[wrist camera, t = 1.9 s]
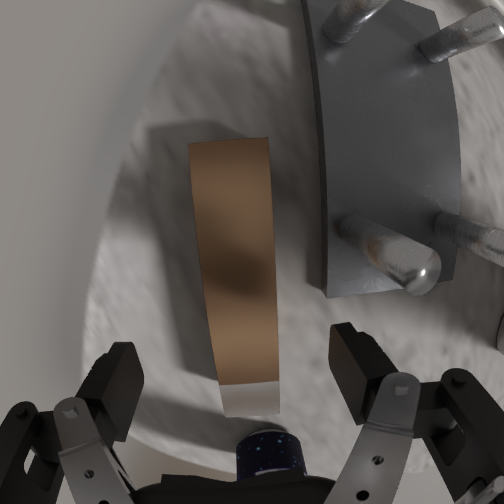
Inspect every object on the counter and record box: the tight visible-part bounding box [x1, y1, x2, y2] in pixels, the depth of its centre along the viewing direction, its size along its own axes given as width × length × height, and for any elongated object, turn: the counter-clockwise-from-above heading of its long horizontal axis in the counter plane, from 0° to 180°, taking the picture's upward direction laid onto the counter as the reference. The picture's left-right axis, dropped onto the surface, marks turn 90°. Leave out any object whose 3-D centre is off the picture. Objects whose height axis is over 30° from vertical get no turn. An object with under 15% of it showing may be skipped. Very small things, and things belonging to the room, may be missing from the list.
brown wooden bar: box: [188, 137, 280, 418], centre depth 16 cm, size 16×4×4 cm, turn 4°
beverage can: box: [236, 429, 307, 481], centre depth 16 cm, size 6×6×12 cm
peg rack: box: [301, 0, 504, 298], centre depth 11 cm, size 10×20×8 cm, turn 4°
